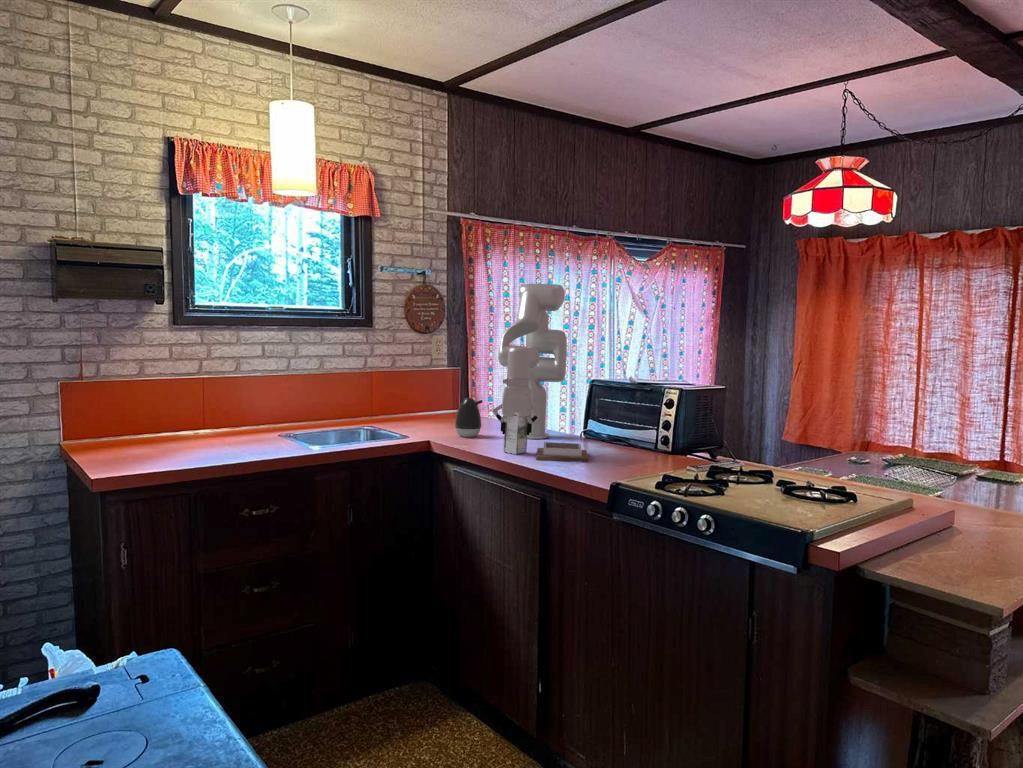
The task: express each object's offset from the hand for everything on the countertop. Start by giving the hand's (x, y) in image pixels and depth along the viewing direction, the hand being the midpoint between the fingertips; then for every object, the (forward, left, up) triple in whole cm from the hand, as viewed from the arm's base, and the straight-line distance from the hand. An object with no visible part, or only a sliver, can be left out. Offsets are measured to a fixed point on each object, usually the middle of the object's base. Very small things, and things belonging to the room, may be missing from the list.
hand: (516, 434), depth 254 cm
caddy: (+3, +16, -7) cm, 18 cm away
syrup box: (0, 0, -7) cm, 7 cm away
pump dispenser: (-32, -20, -7) cm, 38 cm away
